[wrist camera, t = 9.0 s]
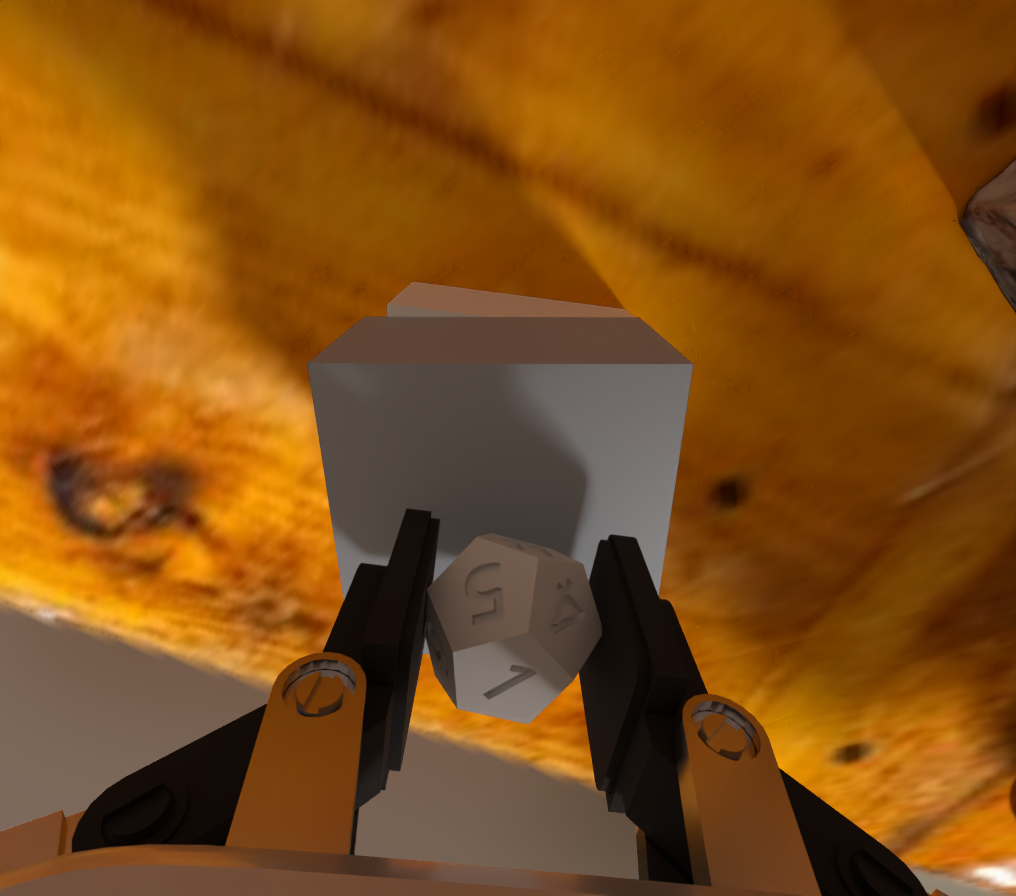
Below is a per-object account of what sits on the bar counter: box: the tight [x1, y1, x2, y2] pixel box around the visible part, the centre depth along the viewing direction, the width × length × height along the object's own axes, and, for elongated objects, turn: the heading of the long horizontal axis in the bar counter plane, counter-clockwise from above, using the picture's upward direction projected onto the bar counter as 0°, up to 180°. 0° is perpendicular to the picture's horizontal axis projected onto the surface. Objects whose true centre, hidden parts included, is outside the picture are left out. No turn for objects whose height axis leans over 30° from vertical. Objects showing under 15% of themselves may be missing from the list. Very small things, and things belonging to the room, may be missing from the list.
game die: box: [424, 533, 602, 724], centre depth 11 cm, size 4×4×3 cm
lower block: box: [387, 282, 633, 317], centre depth 20 cm, size 8×8×5 cm
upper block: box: [307, 317, 693, 654], centre depth 15 cm, size 8×8×5 cm
